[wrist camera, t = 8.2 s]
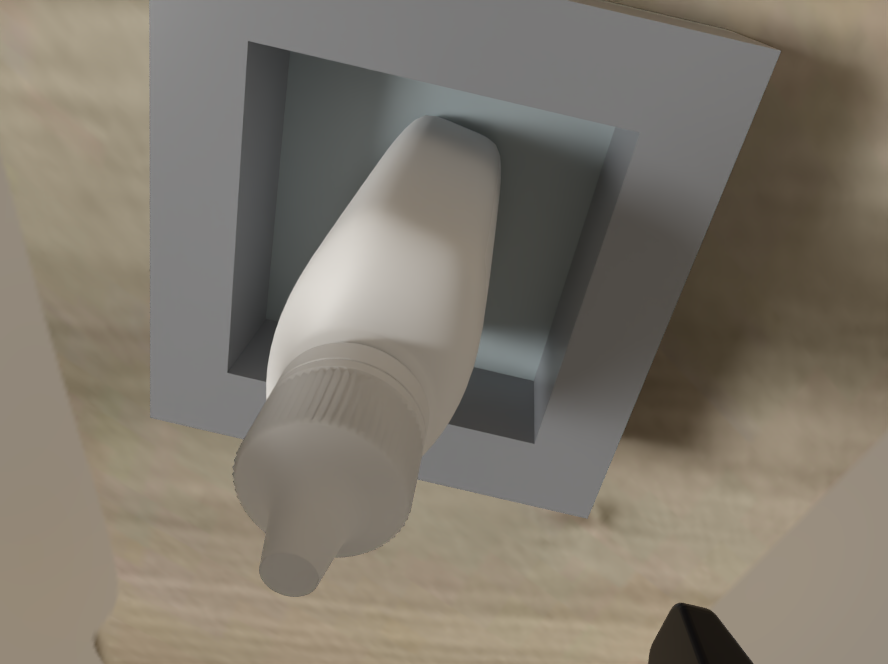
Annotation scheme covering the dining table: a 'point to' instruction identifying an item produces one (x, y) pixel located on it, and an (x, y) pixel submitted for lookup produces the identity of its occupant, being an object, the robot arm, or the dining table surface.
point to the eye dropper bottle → (372, 355)
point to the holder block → (519, 211)
